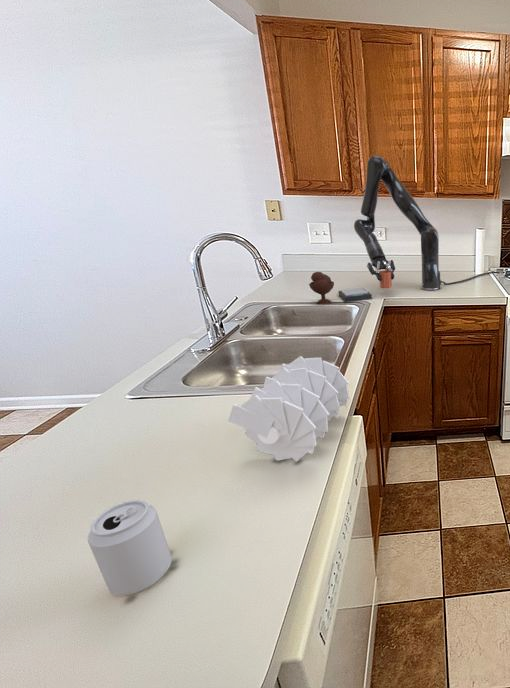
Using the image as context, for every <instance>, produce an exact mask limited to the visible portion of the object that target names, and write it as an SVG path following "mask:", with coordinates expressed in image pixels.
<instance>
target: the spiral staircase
mask: <svg viewBox="0 0 510 688" xmlns="http://www.w3.org/2000/svg"><path fill="white" fill-rule="evenodd" d="M339 369H340V367H339V366H337V365H335V364H332V363H330V362H328V361H326V360H322V357H308V358H307V357H306V358H304V357H303V356H302V355H299V356H298V357H296V358H295V359H294V360H293V361H291V362H290V363H288V364H285V363H282V364H281V367H280V370H279V371H278V372H277V373H275V374H274V375H273V376H272V377H270V376H266V377H265V379H264V383H263V387H262V388H260V387H257V386H255V387H254V389H253V391H252V393H251V395H250V397H249V399H248V400H247V401H245V402H243V403H242V404H240V405H239V404H237V403H234V404H232V408H231V410H230V413H229V416H228V419H227V421H228V422H229V423H232V424H234V425H236V426H238V427H240V428H243V429H245V431H244V432H243V434H244V435H245V436H246V437H247V438H249V439H250V440H252V442H254V443H255V444H257V448H256V451H257V452H261V453H264V454H268V455H272V456H273V457H274V458H275V461H277V462H278V461H282V460H288V459H293V460H294V461H295V462H298V461H299V460H300V459H302V458H303V457H304V456H305V455H306V454H307V453H308V454H313V453H314V451H315V447H317V438H320V439H325V435H326V433H328V432H329V422H330V421H331V419H333V418H339V411H341V407H342V406H344V407H346V406H347V404H348V400H350V394H349V388H348V385H349V384H350V382H349V381H348V379H347V378H346V377H345V376H344V375H343V374H342V372H341V371H340V370H339Z"/></svg>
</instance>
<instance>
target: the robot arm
mask: <svg viewBox="0 0 510 688" xmlns="http://www.w3.org/2000/svg"><path fill="white" fill-rule="evenodd" d="M365 180H366V181H365V188H364V193H363V198H362V202H361V207H360V214H361V215H362V216H364V217H366V219H356V220H355V221H354V223H353V229H354V231H355V233H356V234H357V236H358V237H359V238H360V240H361V241H362V243H363V244H364V247H365V250H366V253H367V255H368V257H369V259H370V262H367V265H366V267H367V269H368V271H369V272H370V274H371V275H372V276H373V275H375V277H376V279H377V281H381V280H382V278H381V276H380V273H379V271H382V270H389V271H391V278H392V280H394V279H395V278H396V277H395V274H394V272H395V271H396V266H395V263H394V260H393V259H391V260H388V259H387V258H386V255H385V252H384V250H383V248H382V246H381V244H380V243H379V240H378V237H377V236H376V234H375V233H374V232H375V230H376V222H375V220H376V219H375V217H376V216H375V215H376V210H377V204H378V197H379V196H378V193H379V187H380V183H381V181H382V183H383V185H384V186H385V187H386V189H387V191H388V193H389V195H390V198H391V199H392V201H393V203H394V204H395V206H396V207H397V209H398V210H399V211H400V213H402V214H403V216H404V217H405V218H406V219H407V220H408V221H410V223H412V224H413V226H414V227H415V228H416V230H417V231H418V234H419V236H420V255H421V256H420V257H421V289H422V290H425V291H436V290H440V289H441V285H442V284H443V285H445V286H449V285H450V286H451V285H455V284H459V283H463V282H467V281H469V280H473V279H475V278H478V277H481V276H486V275H491V274H494V273H495V272H494V271H495V270H492V271H488V272H484V273H480V274H477V275H474V276H471V277H469V278H466V279H461V280H458V281H453V282H445V281H444V280H442V279H441V271H440V263H439V262H440V261H439V260H440V259H439V258H440V256H439V255H440V254H439V253H440V251H439V249H440V248H439V247H440V243H439V242H440V241H439V238H440V236H439V231H438V230H437V228H435V227H434V226H433V224H432V223H431V222H430V221H429V220H428V219H427V217H426V216H425V215H424V213H423V211H422V210H421V208H420V206H419V204H418V202H417V201H416V200H415V198H414V197H413V195H412V194H411V192H409V191H408V189H407V188H406V187H405V185H404V184H403V183H402V182H401V181H400V179H399V178H398V177H397V175H396V174H395V171H393V168H392V167H391V165H390V163H389V162H388V160H387V159H386V158H385V157H384V156H382V155H372V156H371V157H369V158H368V160H367V163H366V179H365ZM374 268H375V269H374ZM496 273H497V274H500V271H498V272H496Z"/></svg>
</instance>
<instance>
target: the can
mask: <svg viewBox="0 0 510 688" xmlns="http://www.w3.org/2000/svg"><path fill="white" fill-rule="evenodd" d="M87 543H88V545H89V548H90V550H91V553H92V555H93V557H94V559H95V562H96V564H97V566H98V568H99V571H100V573H101V575H102V577H103V581H104V582H105V584H106V587H107V589H108V591H109V592H110V593H111V594H112V595H114V596H121V597H122V596H129V595H134V594H137V593H141V592H143V591H144V590H147V589H149V588H150V587H151V586H153V585H155V584H156V583H157V582H158V581H159V580H160V579H161V578H162V577H163V576H164V575H165V574H166V573H167V571H168V570H169V569H170V567H171V565H172V561H173V556H172V553H171V550H170V547H169V545H168V544H169V543H168V541H167V538H166V535H165V531H164V529H163V526H162V524H161V521H160V517H159V515H158V512H157V508H156V507H155V506H153V505H152V504H149V503H148V502H147V501H145V500H143V499H131V500H126V501H122V502H120V503H117V504H115V505H113V506H111V507H109V508H107V509H105V510H104V511H103V512H101V513H100V514H99V515H97V517H95V519H93V520H92V523H91V524H90V531H89V533H88V535H87Z"/></svg>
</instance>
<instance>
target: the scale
mask: <svg viewBox="0 0 510 688" xmlns="http://www.w3.org/2000/svg"><path fill="white" fill-rule="evenodd" d="M337 292H338V293H337V294H338V296H339V298H341V300H342V301H344V303H350V302H357V301H365V300H371V299H372V298H373V297H372V293H371V292H369V291H368V290H367V289H366V288H364V287H355V288H346V289H340V290H338V291H337Z"/></svg>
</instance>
